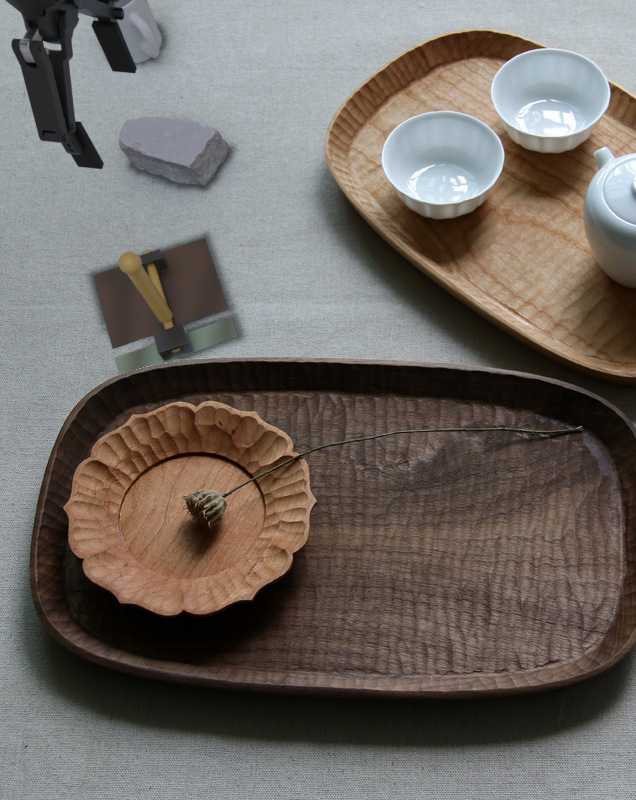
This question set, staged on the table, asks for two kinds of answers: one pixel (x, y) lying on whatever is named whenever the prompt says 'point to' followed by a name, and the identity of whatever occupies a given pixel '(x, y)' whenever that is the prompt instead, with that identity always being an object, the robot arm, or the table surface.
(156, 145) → the decorative stone
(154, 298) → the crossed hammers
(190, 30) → the table surface
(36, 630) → the table surface
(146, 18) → the mug
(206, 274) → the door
